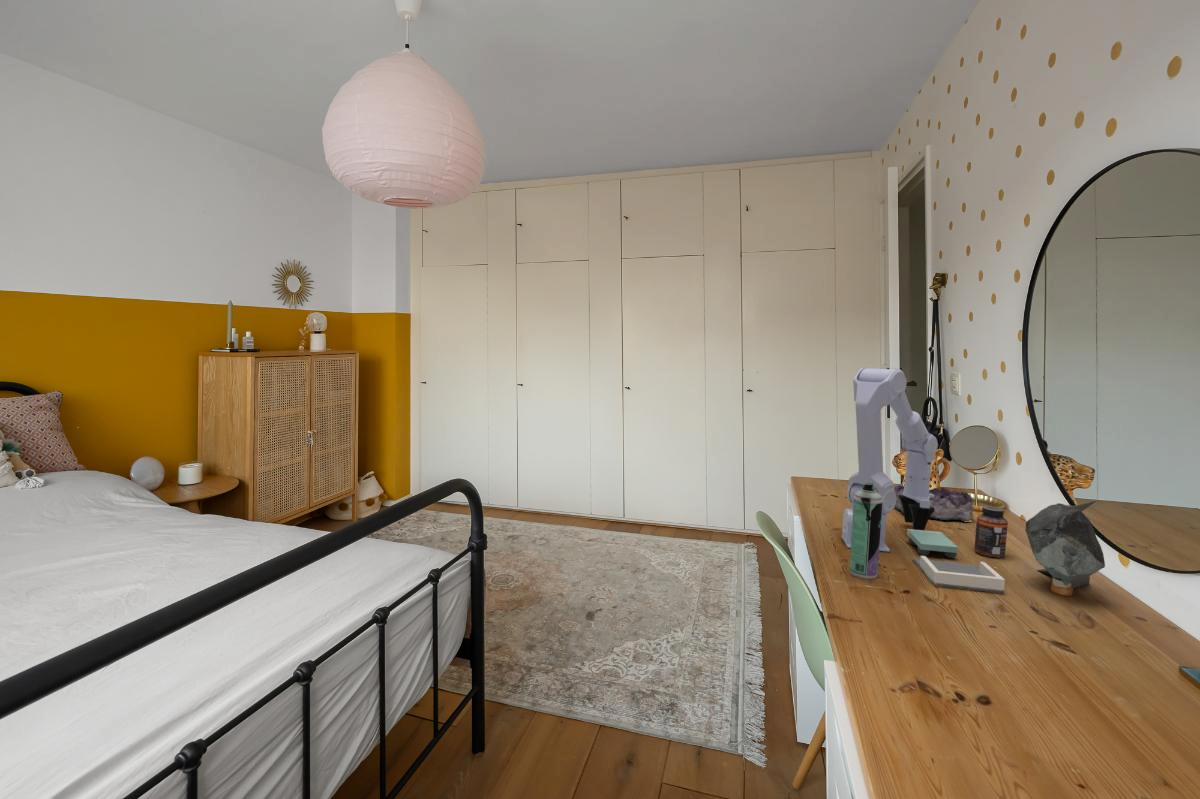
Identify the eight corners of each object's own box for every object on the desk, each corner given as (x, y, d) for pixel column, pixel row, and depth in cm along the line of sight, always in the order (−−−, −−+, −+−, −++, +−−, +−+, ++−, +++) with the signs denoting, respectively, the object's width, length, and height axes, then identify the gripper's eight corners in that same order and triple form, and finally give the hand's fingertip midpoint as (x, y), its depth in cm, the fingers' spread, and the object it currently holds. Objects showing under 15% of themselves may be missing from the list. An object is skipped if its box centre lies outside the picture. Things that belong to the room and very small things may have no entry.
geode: (968, 515, 156) (973, 484, 154) (975, 532, 146) (981, 498, 144) (891, 503, 165) (895, 473, 163) (892, 518, 155) (896, 486, 153)
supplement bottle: (1005, 561, 122) (1009, 513, 121) (973, 554, 125) (977, 508, 124) (1004, 553, 126) (1008, 507, 125) (974, 547, 130) (978, 503, 129)
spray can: (881, 580, 111) (887, 487, 109) (853, 577, 112) (858, 486, 110) (873, 569, 116) (878, 481, 114) (846, 567, 117) (851, 479, 115)
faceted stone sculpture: (998, 578, 112) (1006, 496, 110) (1044, 568, 117) (1051, 490, 116) (1079, 609, 99) (1088, 517, 97) (1126, 597, 104) (1136, 509, 102)
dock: (933, 586, 108) (934, 572, 108) (911, 559, 122) (912, 546, 122) (1003, 594, 105) (1004, 579, 105) (972, 565, 119) (973, 552, 119)
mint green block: (919, 556, 124) (920, 543, 123) (905, 541, 134) (906, 528, 133) (957, 560, 122) (958, 547, 121) (941, 544, 132) (942, 532, 131)
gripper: (944, 484, 131) (940, 537, 132) (925, 471, 145) (921, 519, 146) (913, 482, 132) (909, 534, 134) (896, 470, 146) (893, 517, 148)
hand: (913, 526), depth 140 cm, fingers open, 7 cm apart
